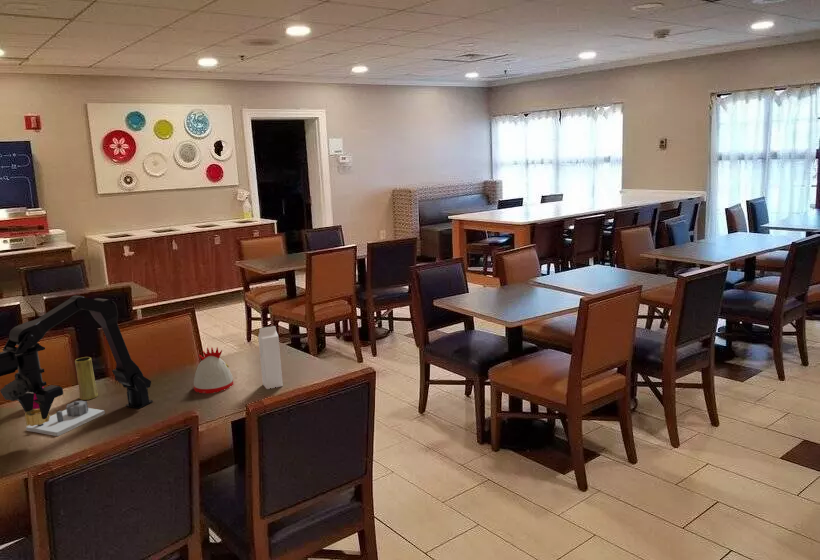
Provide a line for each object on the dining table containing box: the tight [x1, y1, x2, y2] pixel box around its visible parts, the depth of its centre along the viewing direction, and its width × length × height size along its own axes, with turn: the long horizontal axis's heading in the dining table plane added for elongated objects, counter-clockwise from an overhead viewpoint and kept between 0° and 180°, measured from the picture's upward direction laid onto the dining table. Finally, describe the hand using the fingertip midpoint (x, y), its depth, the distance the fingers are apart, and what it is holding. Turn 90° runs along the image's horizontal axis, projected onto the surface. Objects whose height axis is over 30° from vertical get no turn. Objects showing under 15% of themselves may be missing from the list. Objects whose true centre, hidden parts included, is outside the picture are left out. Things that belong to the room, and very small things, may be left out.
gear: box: [24, 408, 50, 426], centre depth 193 cm, size 6×6×3 cm
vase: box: [74, 356, 99, 401], centre depth 230 cm, size 6×6×14 cm
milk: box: [257, 325, 284, 390], centre depth 232 cm, size 6×6×22 cm
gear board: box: [25, 400, 106, 437], centre depth 209 cm, size 14×18×5 cm
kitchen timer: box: [193, 346, 234, 394], centre depth 235 cm, size 14×14×15 cm
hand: (37, 417), depth 193 cm, fingers closed on gear, 6 cm apart
